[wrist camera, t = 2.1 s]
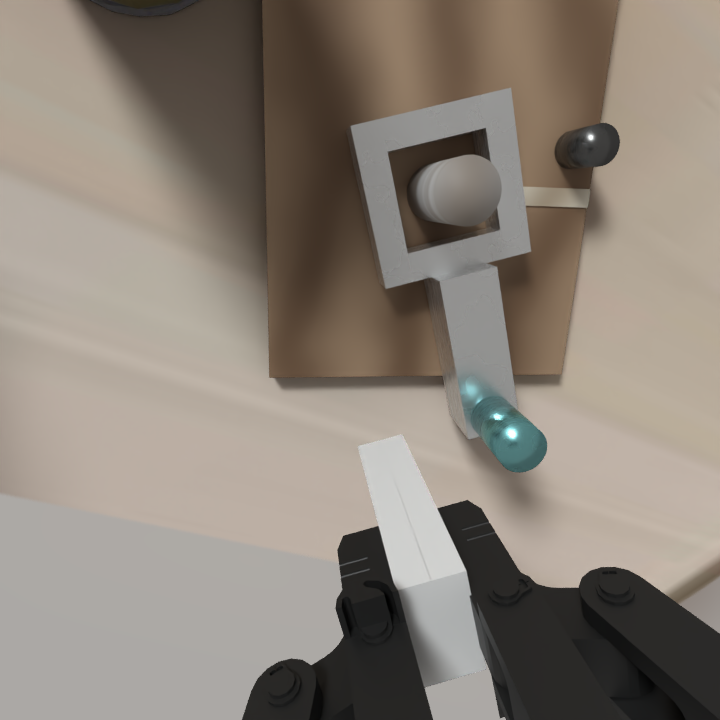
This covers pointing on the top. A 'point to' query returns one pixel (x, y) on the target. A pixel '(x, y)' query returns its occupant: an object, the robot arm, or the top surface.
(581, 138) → the dowel
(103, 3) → the canister
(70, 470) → the top surface
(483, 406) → the square loop handle
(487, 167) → the board
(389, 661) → the robot arm
